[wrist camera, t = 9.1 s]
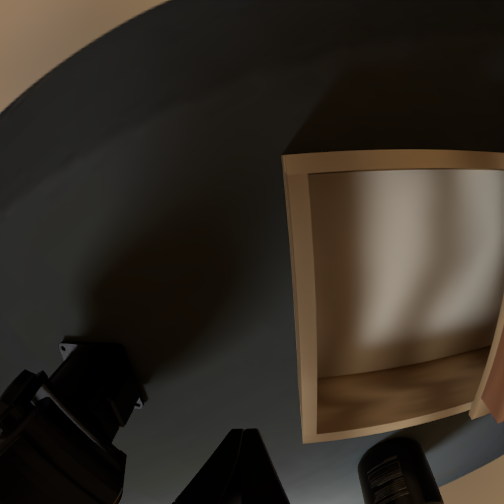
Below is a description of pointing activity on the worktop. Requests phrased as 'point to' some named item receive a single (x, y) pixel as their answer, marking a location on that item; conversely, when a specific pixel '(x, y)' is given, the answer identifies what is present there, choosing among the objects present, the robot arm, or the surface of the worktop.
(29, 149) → the worktop surface
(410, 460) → the supplement bottle
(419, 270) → the mailer box
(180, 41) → the worktop surface
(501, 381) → the mailer lid
